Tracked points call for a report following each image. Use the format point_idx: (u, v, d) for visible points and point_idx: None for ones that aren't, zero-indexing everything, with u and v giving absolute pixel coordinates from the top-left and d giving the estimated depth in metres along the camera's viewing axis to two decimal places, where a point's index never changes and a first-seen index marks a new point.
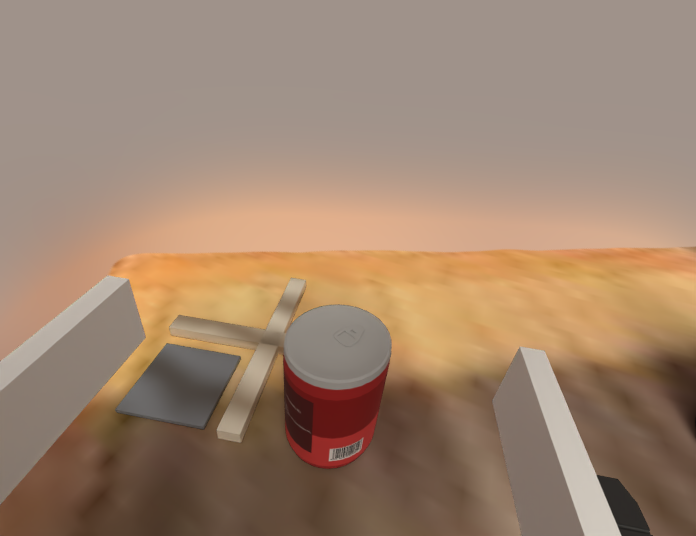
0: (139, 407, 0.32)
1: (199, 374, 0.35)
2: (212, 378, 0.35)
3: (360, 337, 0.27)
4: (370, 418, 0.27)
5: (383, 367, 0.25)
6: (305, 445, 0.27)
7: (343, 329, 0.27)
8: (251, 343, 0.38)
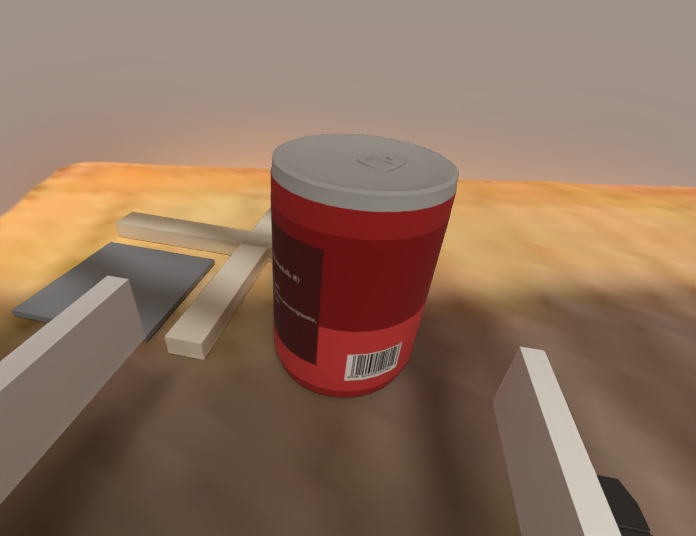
0: (50, 309, 0.21)
1: (151, 276, 0.24)
2: (169, 281, 0.24)
3: (402, 164, 0.16)
4: (416, 304, 0.16)
5: (450, 193, 0.14)
6: (307, 351, 0.16)
7: (372, 157, 0.16)
8: (230, 244, 0.27)
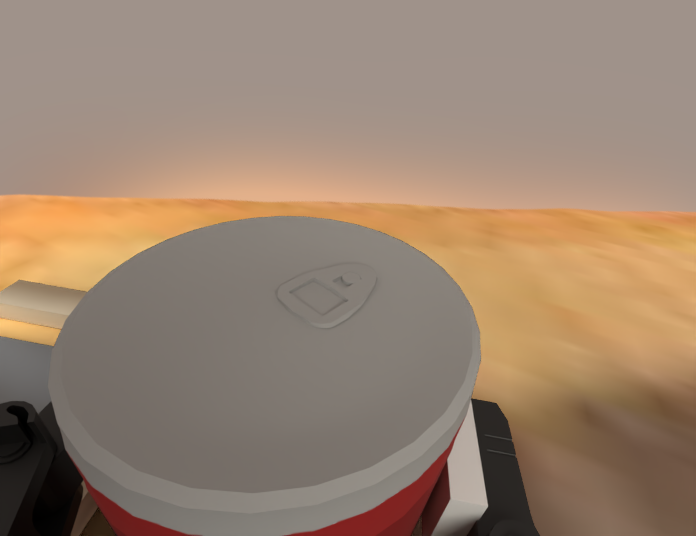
0: None
1: (11, 397, 0.16)
2: (36, 407, 0.16)
3: (366, 298, 0.08)
4: None
5: (464, 410, 0.06)
6: None
7: (311, 277, 0.09)
8: None
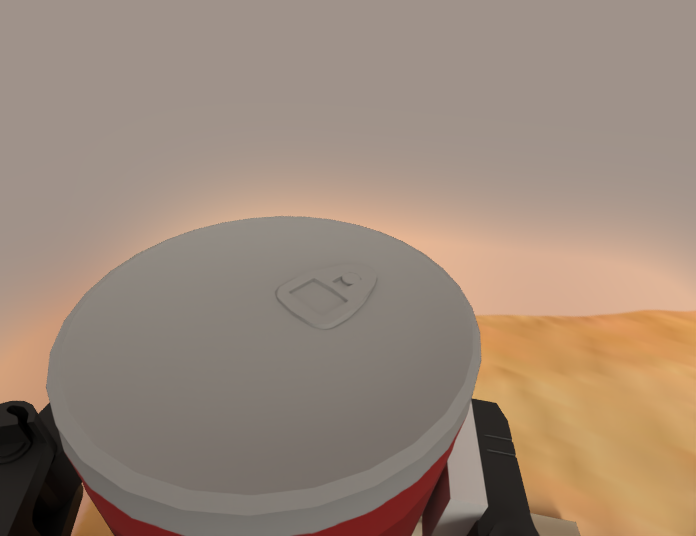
0: None
1: None
2: None
3: (367, 298, 0.08)
4: None
5: (464, 411, 0.06)
6: None
7: (310, 277, 0.09)
8: None
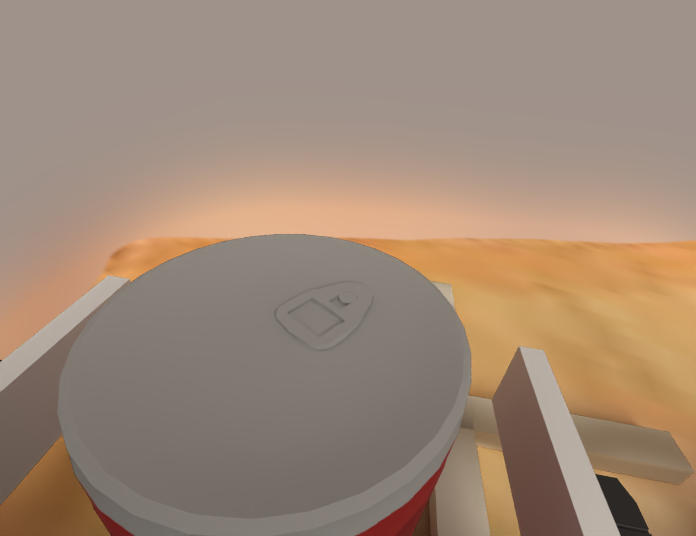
0: None
1: None
2: None
3: (362, 318, 0.08)
4: None
5: (454, 432, 0.06)
6: None
7: (308, 297, 0.09)
8: None
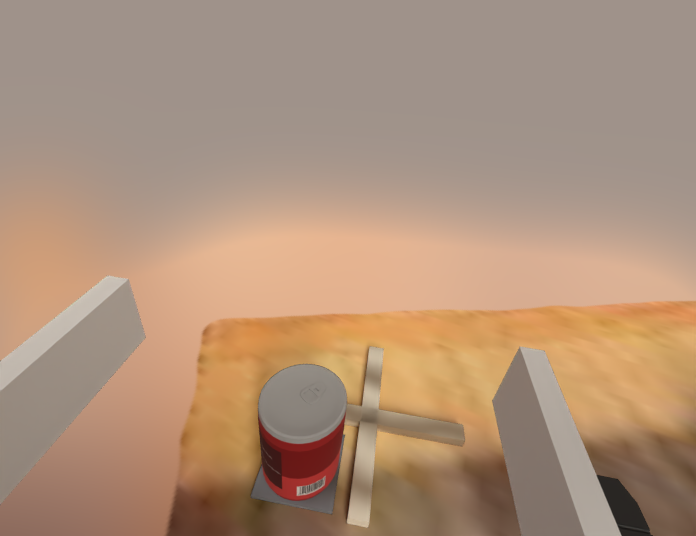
0: (271, 493, 0.35)
1: None
2: None
3: (322, 395, 0.33)
4: (330, 461, 0.33)
5: (338, 423, 0.31)
6: (277, 483, 0.33)
7: (308, 388, 0.33)
8: (352, 421, 0.42)
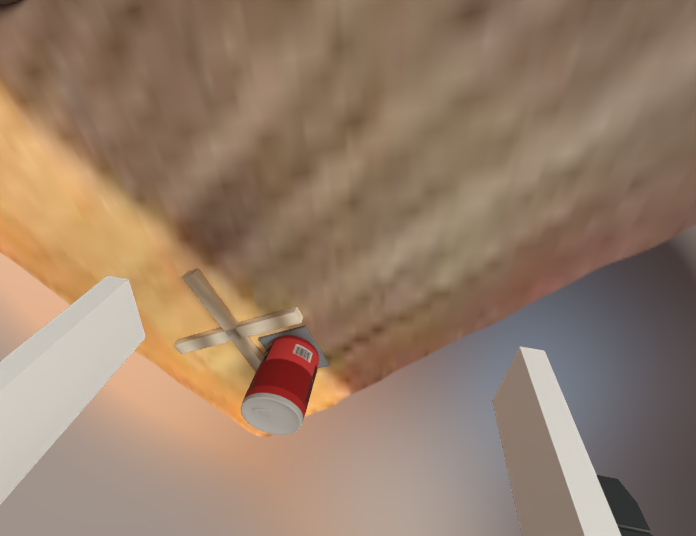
0: (320, 358, 0.54)
1: None
2: None
3: (260, 408, 0.45)
4: (285, 363, 0.48)
5: (268, 394, 0.44)
6: (315, 370, 0.51)
7: (262, 415, 0.46)
8: (246, 340, 0.54)
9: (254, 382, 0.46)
